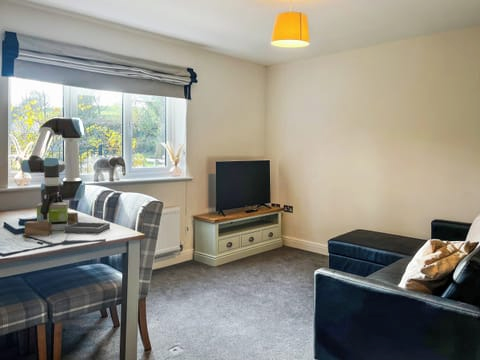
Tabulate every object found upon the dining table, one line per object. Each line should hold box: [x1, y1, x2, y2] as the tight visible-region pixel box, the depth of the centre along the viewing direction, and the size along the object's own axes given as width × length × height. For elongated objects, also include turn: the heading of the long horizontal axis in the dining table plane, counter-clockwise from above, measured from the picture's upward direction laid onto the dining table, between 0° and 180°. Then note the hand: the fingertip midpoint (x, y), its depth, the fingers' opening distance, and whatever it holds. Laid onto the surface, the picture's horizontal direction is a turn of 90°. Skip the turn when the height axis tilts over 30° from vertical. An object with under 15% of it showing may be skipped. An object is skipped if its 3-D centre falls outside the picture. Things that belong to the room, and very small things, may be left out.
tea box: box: [36, 201, 69, 232], centre depth 216 cm, size 15×10×15 cm, turn 111°
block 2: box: [68, 211, 79, 226], centre depth 231 cm, size 4×12×7 cm, turn 85°
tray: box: [64, 221, 111, 235], centre depth 215 cm, size 14×19×3 cm
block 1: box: [23, 220, 53, 237], centre depth 203 cm, size 4×12×7 cm, turn 92°
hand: (53, 223), depth 217 cm, fingers closed on tea box, 12 cm apart
